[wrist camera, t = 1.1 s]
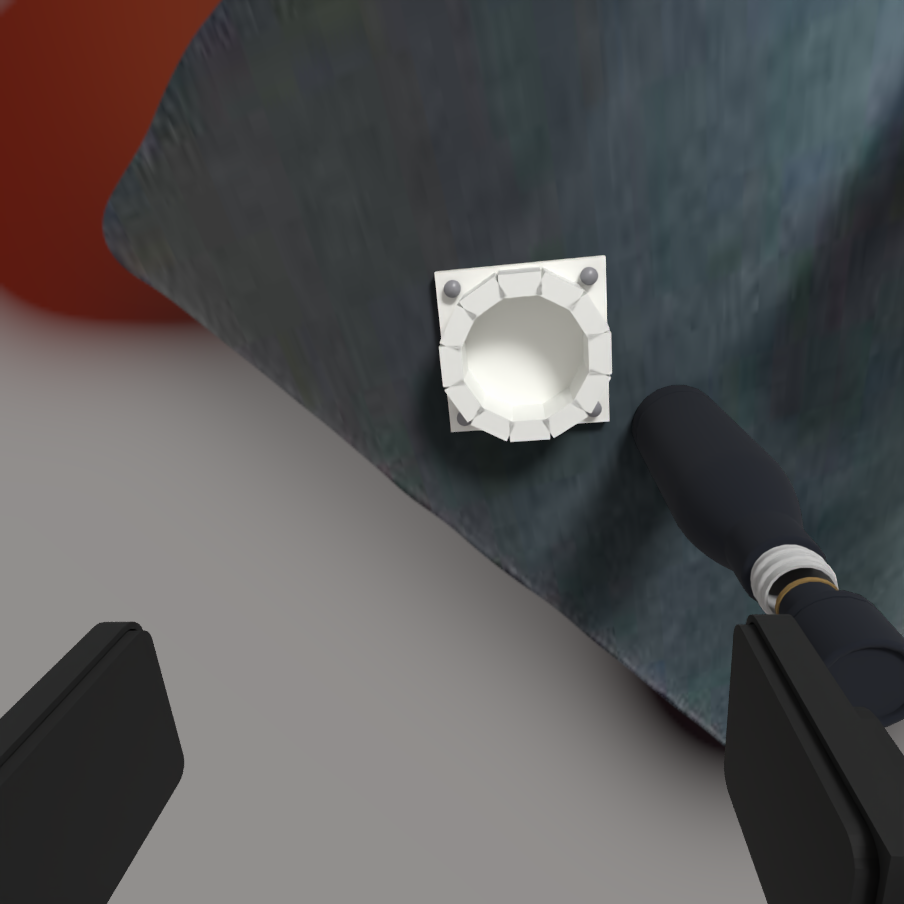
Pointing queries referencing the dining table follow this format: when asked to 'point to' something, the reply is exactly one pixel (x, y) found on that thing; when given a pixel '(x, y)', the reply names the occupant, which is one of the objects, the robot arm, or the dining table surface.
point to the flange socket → (525, 347)
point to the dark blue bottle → (765, 540)
